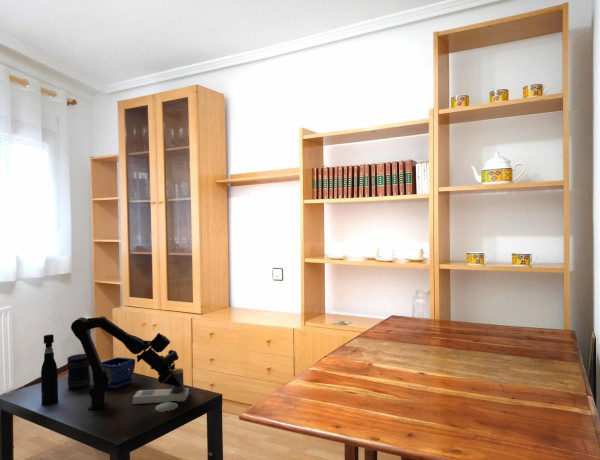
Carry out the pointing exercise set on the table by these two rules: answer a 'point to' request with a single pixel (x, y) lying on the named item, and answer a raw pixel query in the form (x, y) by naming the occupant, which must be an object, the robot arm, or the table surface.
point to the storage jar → (78, 372)
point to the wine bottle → (49, 374)
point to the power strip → (158, 396)
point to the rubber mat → (166, 406)
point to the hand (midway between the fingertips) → (180, 382)
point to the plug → (179, 376)
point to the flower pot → (120, 371)
